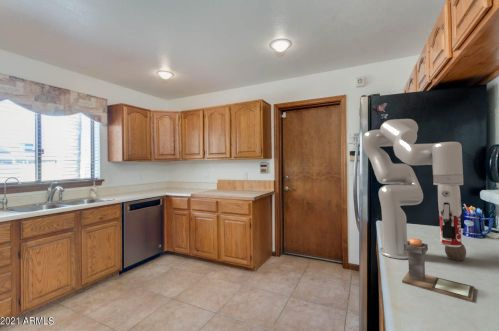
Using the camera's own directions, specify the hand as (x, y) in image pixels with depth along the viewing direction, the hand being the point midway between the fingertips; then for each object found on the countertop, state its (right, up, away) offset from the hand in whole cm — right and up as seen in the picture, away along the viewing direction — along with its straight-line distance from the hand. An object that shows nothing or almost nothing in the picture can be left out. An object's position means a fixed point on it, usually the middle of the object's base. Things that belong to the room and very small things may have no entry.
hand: (450, 235), depth 78 cm
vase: (+22, -17, +24) cm, 36 cm away
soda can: (0, -3, 0) cm, 3 cm away
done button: (-6, -6, +7) cm, 11 cm away
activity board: (-2, -18, +3) cm, 18 cm away
